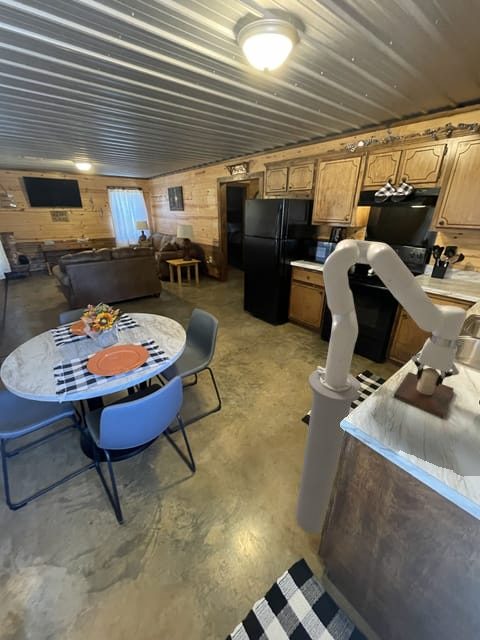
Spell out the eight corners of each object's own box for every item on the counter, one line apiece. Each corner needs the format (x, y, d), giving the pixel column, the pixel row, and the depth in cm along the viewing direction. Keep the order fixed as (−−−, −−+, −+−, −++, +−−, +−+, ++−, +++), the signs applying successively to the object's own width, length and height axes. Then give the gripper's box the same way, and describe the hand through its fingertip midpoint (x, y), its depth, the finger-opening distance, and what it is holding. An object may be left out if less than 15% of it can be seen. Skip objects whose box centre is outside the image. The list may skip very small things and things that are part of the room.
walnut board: (393, 397, 103) (394, 393, 102) (407, 375, 116) (408, 371, 115) (442, 418, 92) (444, 414, 92) (452, 391, 105) (453, 388, 105)
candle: (430, 397, 100) (438, 375, 96) (414, 390, 103) (421, 369, 99) (434, 391, 103) (442, 369, 99) (418, 384, 107) (426, 363, 103)
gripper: (474, 344, 91) (457, 386, 98) (418, 329, 102) (406, 368, 109) (472, 352, 86) (453, 396, 93) (413, 335, 97) (400, 375, 104)
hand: (428, 380), depth 101 cm, fingers closed on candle, 5 cm apart
